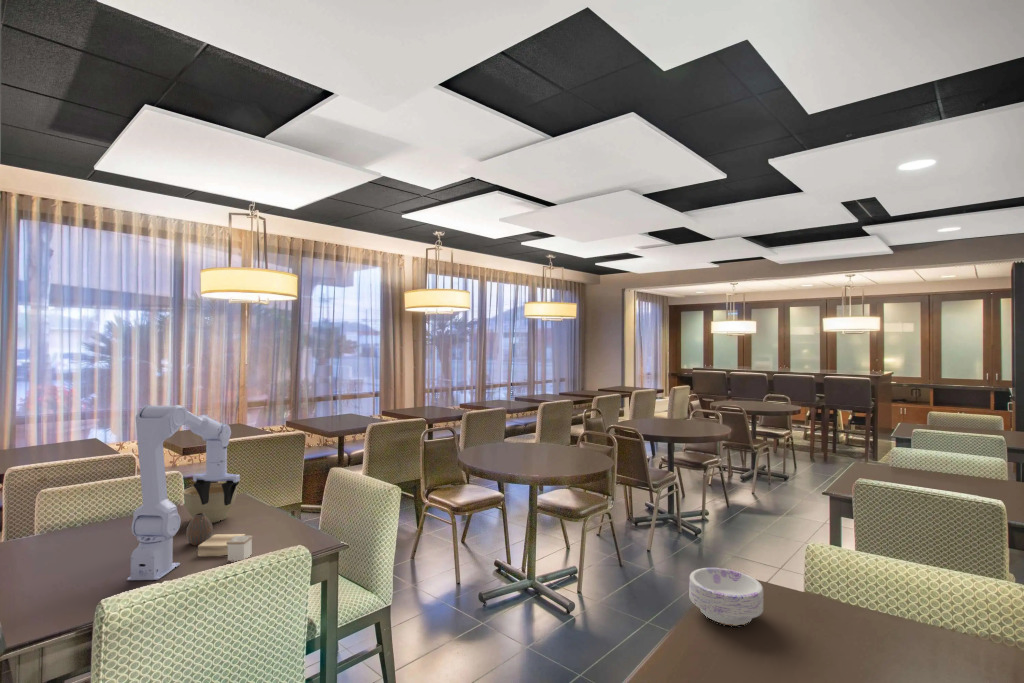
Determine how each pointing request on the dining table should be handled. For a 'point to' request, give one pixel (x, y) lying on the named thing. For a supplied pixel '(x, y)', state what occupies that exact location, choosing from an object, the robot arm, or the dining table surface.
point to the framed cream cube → (239, 547)
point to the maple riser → (216, 545)
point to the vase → (199, 529)
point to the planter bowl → (215, 505)
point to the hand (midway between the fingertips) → (216, 504)
